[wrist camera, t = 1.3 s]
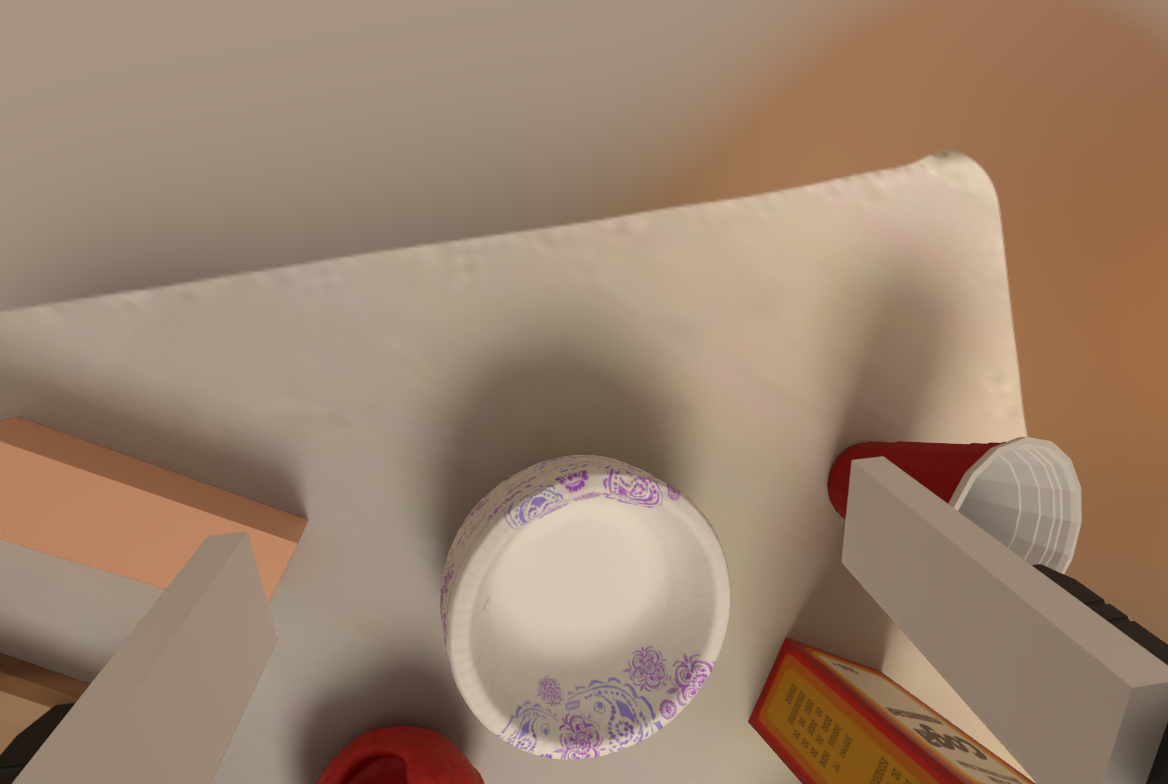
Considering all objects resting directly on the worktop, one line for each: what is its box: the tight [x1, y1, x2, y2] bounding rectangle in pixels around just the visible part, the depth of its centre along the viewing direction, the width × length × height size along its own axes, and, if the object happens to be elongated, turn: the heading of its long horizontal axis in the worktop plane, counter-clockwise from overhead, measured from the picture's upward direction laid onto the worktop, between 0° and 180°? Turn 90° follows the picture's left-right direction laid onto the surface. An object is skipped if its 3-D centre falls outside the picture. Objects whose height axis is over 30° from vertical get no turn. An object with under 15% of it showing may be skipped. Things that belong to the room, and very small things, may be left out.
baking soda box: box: [749, 638, 1035, 784], centre depth 38 cm, size 10×6×16 cm
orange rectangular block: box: [0, 417, 308, 603], centre depth 30 cm, size 14×4×4 cm, turn 62°
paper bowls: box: [440, 455, 731, 760], centre depth 35 cm, size 15×15×8 cm
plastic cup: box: [828, 437, 1081, 574], centre depth 39 cm, size 11×11×12 cm
